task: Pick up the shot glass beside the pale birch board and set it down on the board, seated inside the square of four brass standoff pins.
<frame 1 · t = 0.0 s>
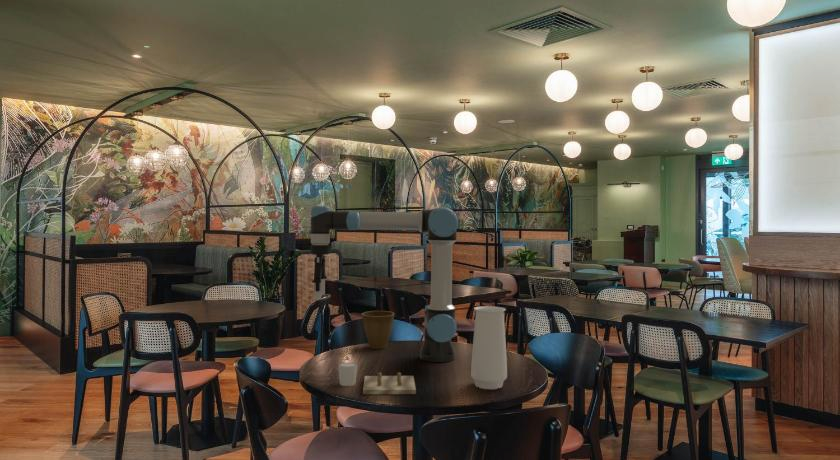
hand: (319, 297, 240), 28 cm above the table, fingers open, 13 cm apart
plant pot: (377, 348, 276), on the table
vase: (488, 386, 215), on the table
pin board: (389, 386, 212), on the table
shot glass: (347, 384, 215), on the table
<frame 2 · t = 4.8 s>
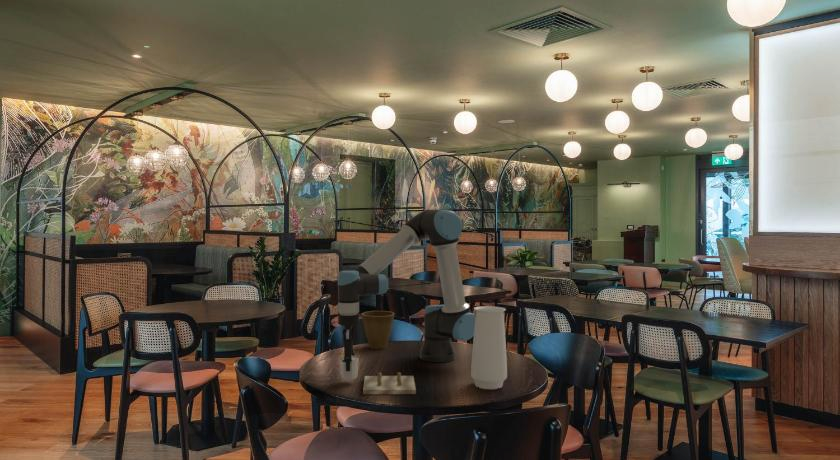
hand: (348, 376, 215), 3 cm above the table, fingers closed on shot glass, 7 cm apart
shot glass: (349, 378, 216), point 2 cm above the table, touching gripper
everything else where it was.
when the fingers open (2 cm above the table, at t = 9.2 s): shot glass stays where it is, resting on pin board.
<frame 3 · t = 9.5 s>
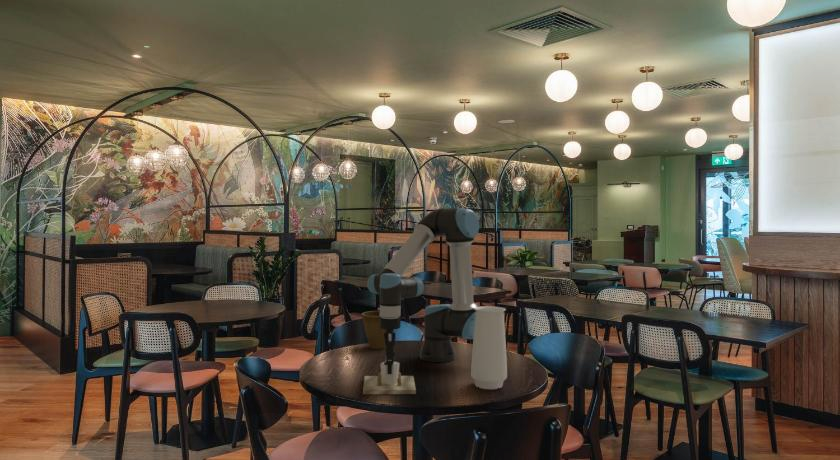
hand: (389, 378, 212), 3 cm above the table, fingers open, 11 cm apart
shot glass: (389, 383, 212), point 1 cm above the table, touching pin board
everything else where it was.
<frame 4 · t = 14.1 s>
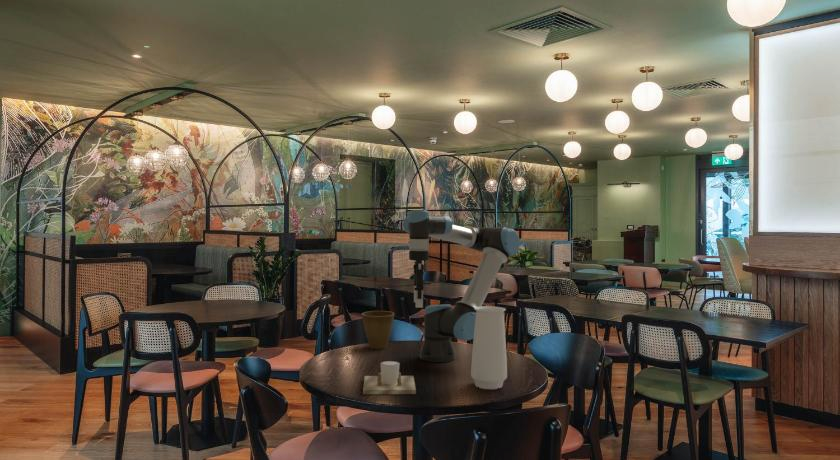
hand: (418, 304, 230), 27 cm above the table, fingers open, 13 cm apart
nothing on the table moved.
at the end: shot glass 0.2 cm off-centre on the pin board, point 1.3 cm above the pin board's base; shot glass tilted 0°; the gripper is holding nothing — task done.
